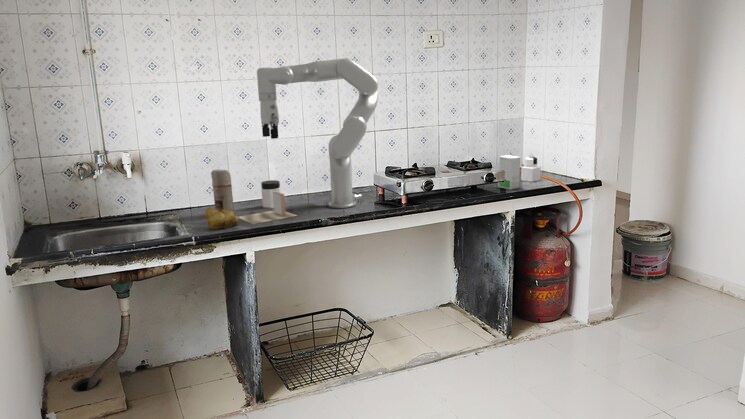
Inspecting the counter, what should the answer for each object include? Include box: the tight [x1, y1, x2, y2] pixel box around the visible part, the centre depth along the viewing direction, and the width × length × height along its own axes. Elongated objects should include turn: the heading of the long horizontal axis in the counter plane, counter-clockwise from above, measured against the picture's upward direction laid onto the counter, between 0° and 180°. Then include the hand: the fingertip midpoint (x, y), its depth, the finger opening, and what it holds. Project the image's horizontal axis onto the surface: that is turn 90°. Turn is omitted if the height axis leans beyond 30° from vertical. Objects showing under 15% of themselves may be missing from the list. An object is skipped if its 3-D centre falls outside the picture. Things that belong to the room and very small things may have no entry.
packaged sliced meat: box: [237, 209, 298, 225], centre depth 258 cm, size 20×16×1 cm
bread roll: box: [205, 207, 240, 230], centre depth 248 cm, size 13×10×8 cm
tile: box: [273, 192, 286, 216], centre depth 260 cm, size 2×7×9 cm, turn 36°
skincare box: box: [497, 154, 521, 190], centre depth 302 cm, size 8×7×16 cm
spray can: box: [210, 168, 235, 213], centre depth 267 cm, size 8×8×20 cm
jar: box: [260, 179, 281, 209], centre depth 277 cm, size 9×8×12 cm
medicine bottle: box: [520, 156, 541, 183], centre depth 319 cm, size 7×7×12 cm
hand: (270, 137), depth 267 cm, fingers open, 9 cm apart
